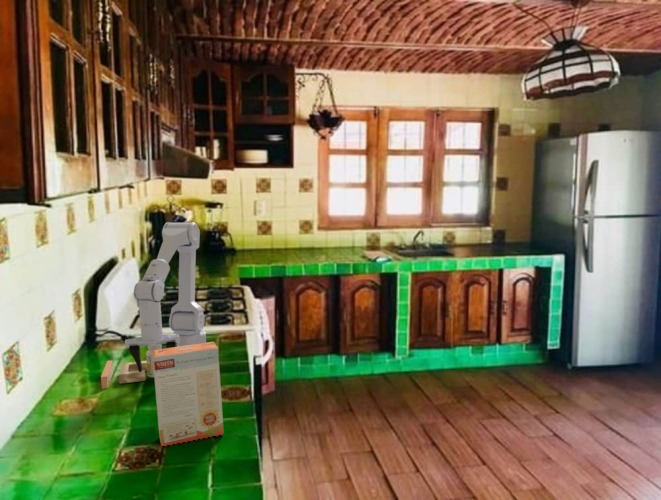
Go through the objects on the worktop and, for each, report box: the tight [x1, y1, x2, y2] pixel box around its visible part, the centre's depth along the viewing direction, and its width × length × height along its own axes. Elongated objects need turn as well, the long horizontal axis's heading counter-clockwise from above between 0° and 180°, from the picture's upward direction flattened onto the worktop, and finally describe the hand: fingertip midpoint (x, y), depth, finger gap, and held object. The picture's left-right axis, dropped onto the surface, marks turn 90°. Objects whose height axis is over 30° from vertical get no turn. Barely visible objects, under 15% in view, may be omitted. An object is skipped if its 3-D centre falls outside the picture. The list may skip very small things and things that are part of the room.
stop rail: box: [100, 360, 115, 390], centre depth 167 cm, size 2×14×4 cm, turn 14°
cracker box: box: [152, 341, 225, 447], centre depth 129 cm, size 14×6×21 cm, turn 110°
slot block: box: [118, 360, 147, 384], centre depth 169 cm, size 7×10×3 cm
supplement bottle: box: [145, 344, 163, 378], centre depth 170 cm, size 5×5×10 cm
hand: (154, 369), depth 162 cm, fingers open, 7 cm apart
